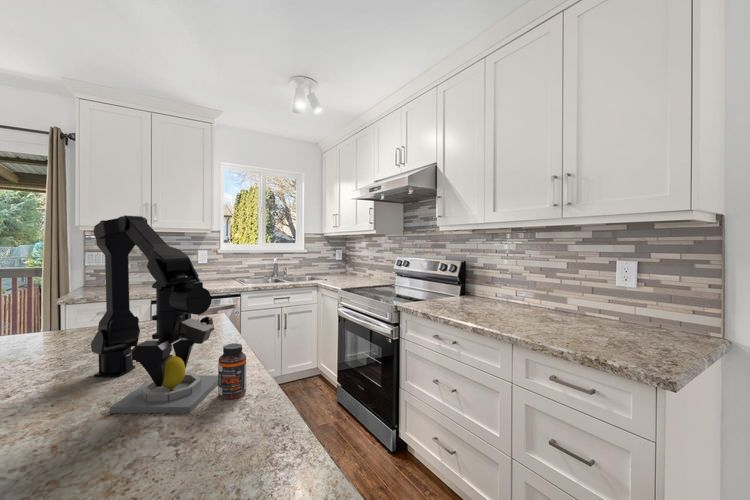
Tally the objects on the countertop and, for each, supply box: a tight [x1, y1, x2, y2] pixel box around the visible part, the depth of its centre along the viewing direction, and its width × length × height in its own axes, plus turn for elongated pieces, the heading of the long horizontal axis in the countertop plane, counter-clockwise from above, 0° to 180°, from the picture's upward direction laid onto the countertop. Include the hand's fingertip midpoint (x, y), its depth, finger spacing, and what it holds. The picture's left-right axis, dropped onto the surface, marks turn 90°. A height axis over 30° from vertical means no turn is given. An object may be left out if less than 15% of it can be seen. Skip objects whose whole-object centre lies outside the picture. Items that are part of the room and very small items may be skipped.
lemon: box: [163, 354, 186, 390], centre depth 77 cm, size 6×6×8 cm
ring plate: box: [109, 372, 218, 414], centre depth 77 cm, size 16×16×3 cm
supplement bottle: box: [217, 342, 247, 401], centre depth 77 cm, size 6×6×11 cm
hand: (172, 377), depth 77 cm, fingers open, 9 cm apart
